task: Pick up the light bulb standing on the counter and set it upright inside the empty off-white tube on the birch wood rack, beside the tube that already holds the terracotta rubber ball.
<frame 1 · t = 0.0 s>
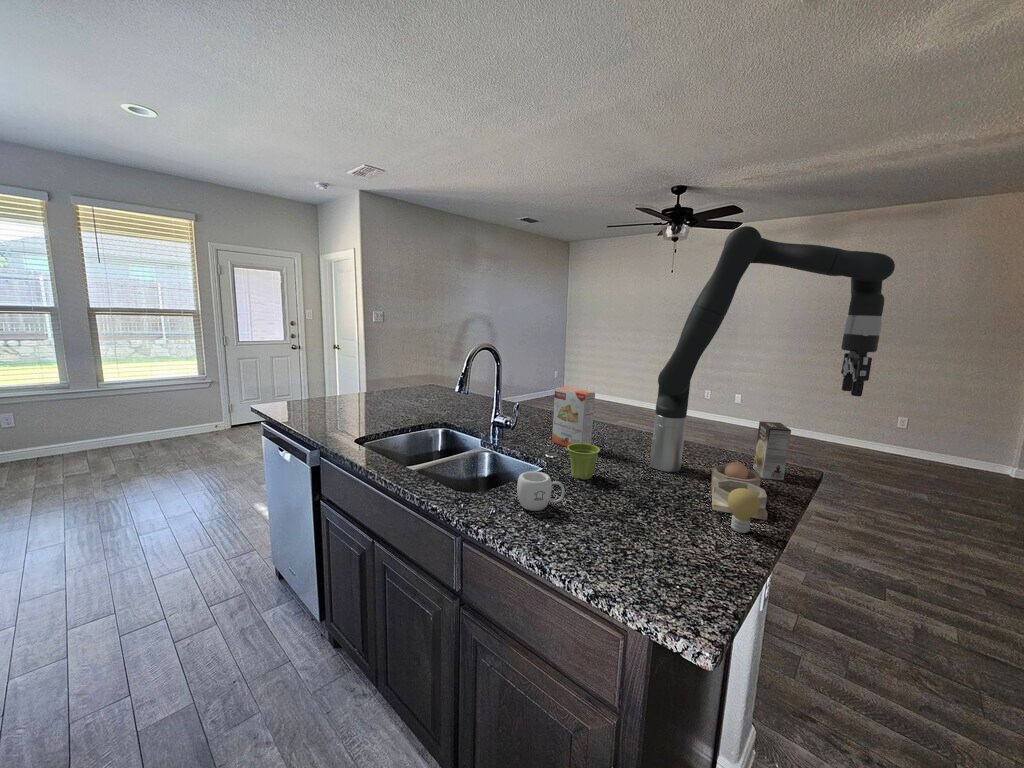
hand: (851, 393, 118), 29 cm above the worktop, tool pointing down, fingers open, 8 cm apart
terracotta ball: (736, 472, 125), point 4 cm above the worktop, touching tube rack
cracker box: (570, 446, 159), on the worktop
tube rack: (735, 495, 120), on the worktop
mug: (540, 506, 109), on the worktop
plant pot: (581, 476, 130), on the worktop
coffee box: (767, 475, 138), on the worktop
light bulb: (739, 531, 100), on the worktop
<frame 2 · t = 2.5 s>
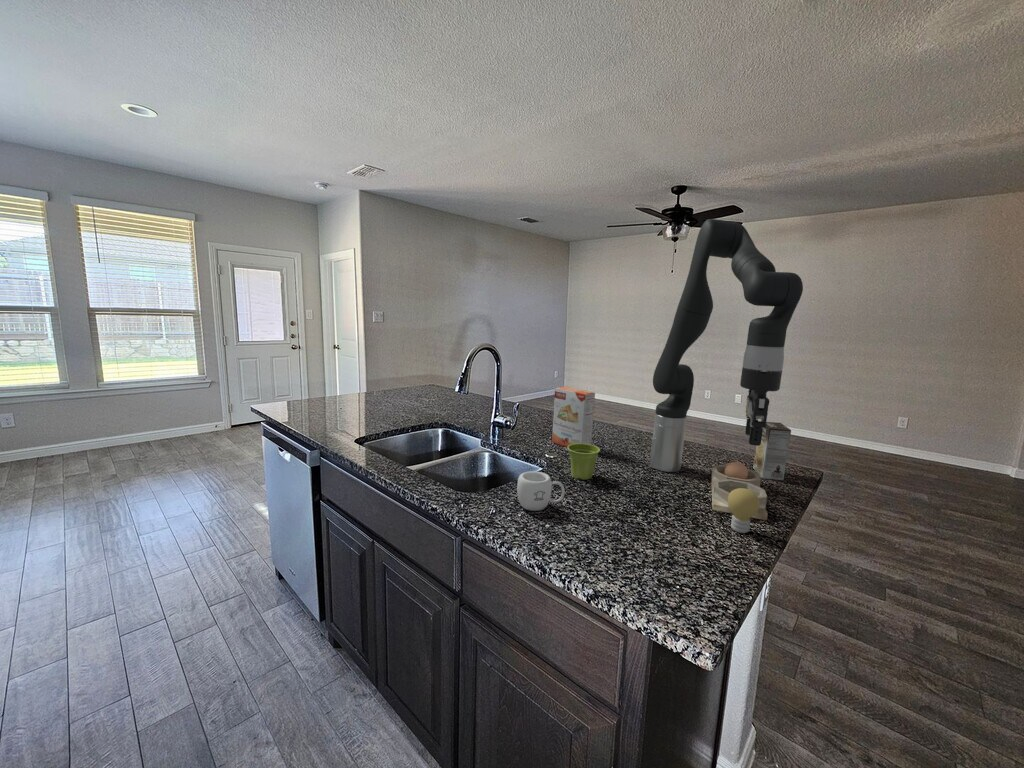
hand: (752, 439, 97), 22 cm above the worktop, tool pointing down, fingers open, 8 cm apart
nothing on the worktop moved.
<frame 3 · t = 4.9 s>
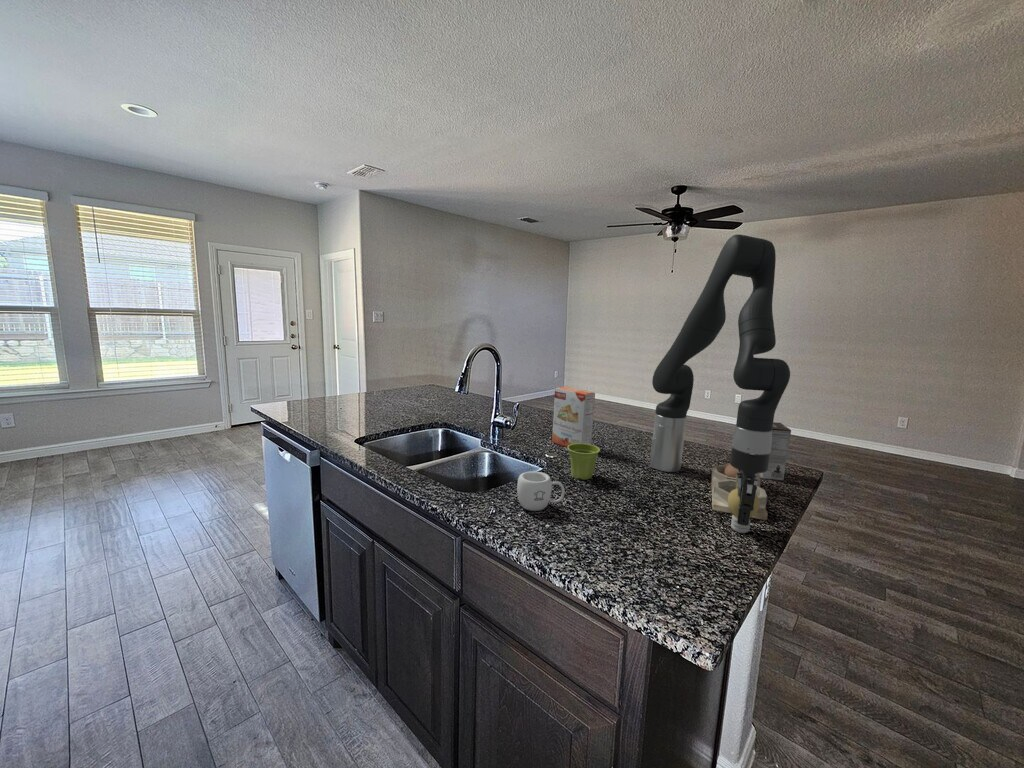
hand: (741, 517, 100), 3 cm above the worktop, tool pointing down, fingers closed on light bulb, 6 cm apart
light bulb: (739, 531, 100), on the worktop, touching gripper
everything else where it was.
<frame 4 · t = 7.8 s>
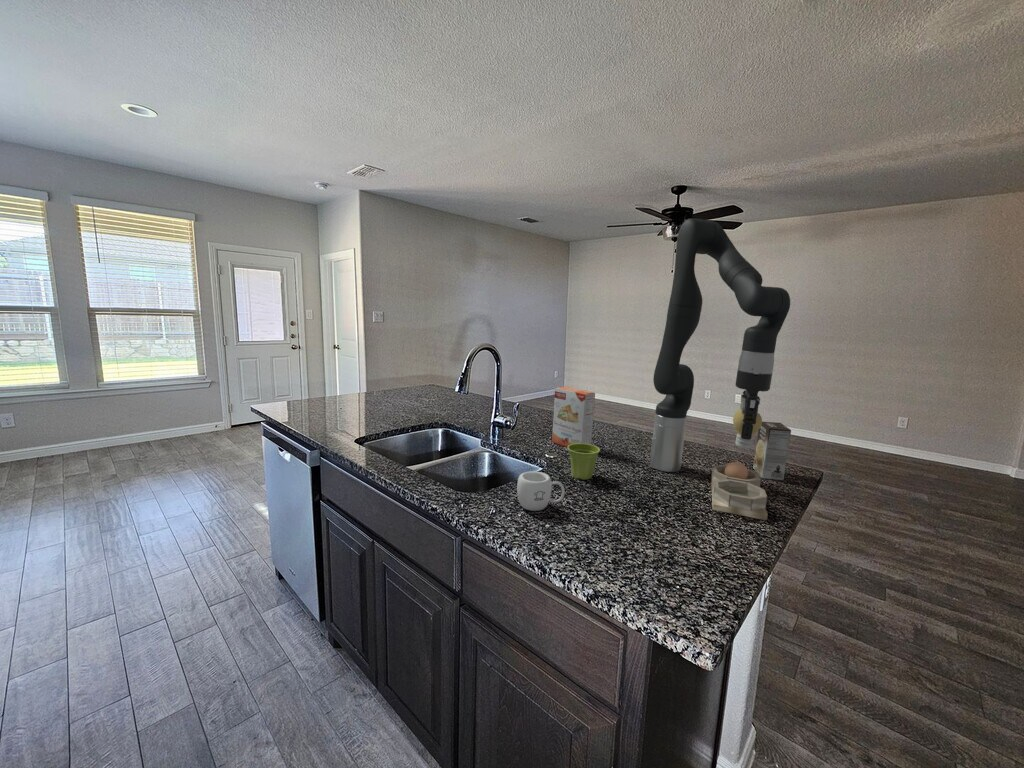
hand: (744, 435, 110), 19 cm above the worktop, tool pointing down, fingers closed on light bulb, 6 cm apart
light bulb: (743, 448, 111), point 16 cm above the worktop, touching gripper
everything else where it was.
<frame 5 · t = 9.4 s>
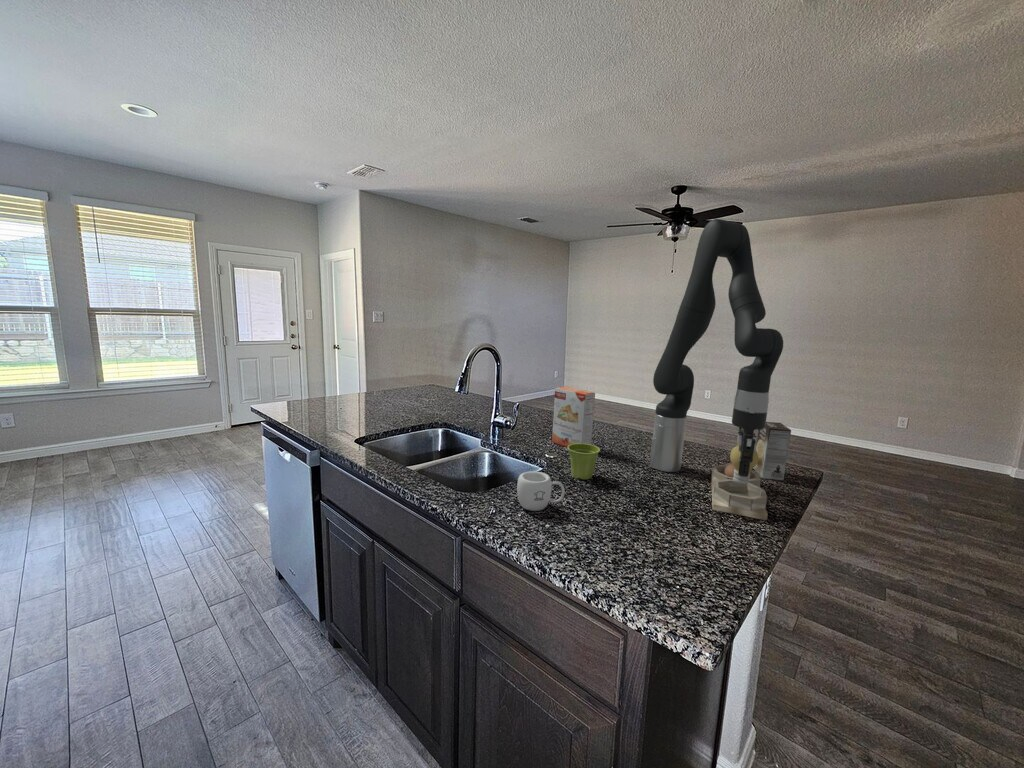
hand: (741, 471, 113), 9 cm above the worktop, tool pointing down, fingers closed on light bulb, 6 cm apart
light bulb: (740, 483, 113), point 6 cm above the worktop, touching gripper
everything else where it was.
when the fingers open (7 cm above the worktop, at t = 10.8 s): light bulb drops 2 cm, resting on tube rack.
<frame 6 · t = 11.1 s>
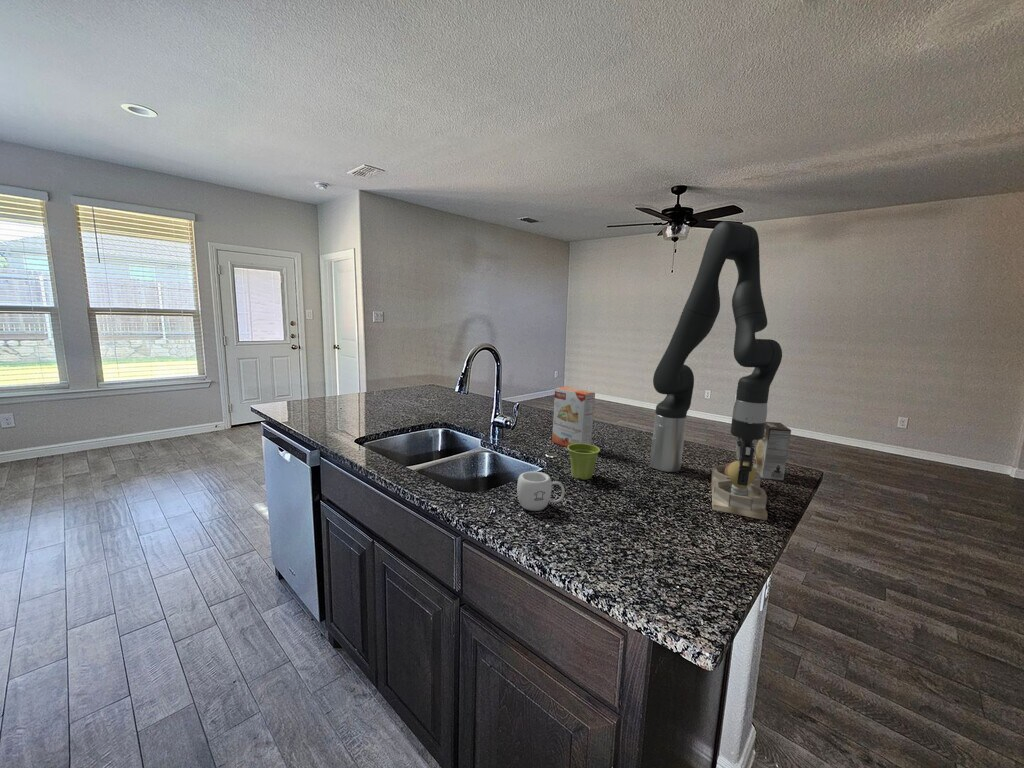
hand: (740, 479, 113), 7 cm above the worktop, tool pointing down, fingers open, 8 cm apart
light bulb: (738, 498, 114), point 2 cm above the worktop, touching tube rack
everything else where it was.
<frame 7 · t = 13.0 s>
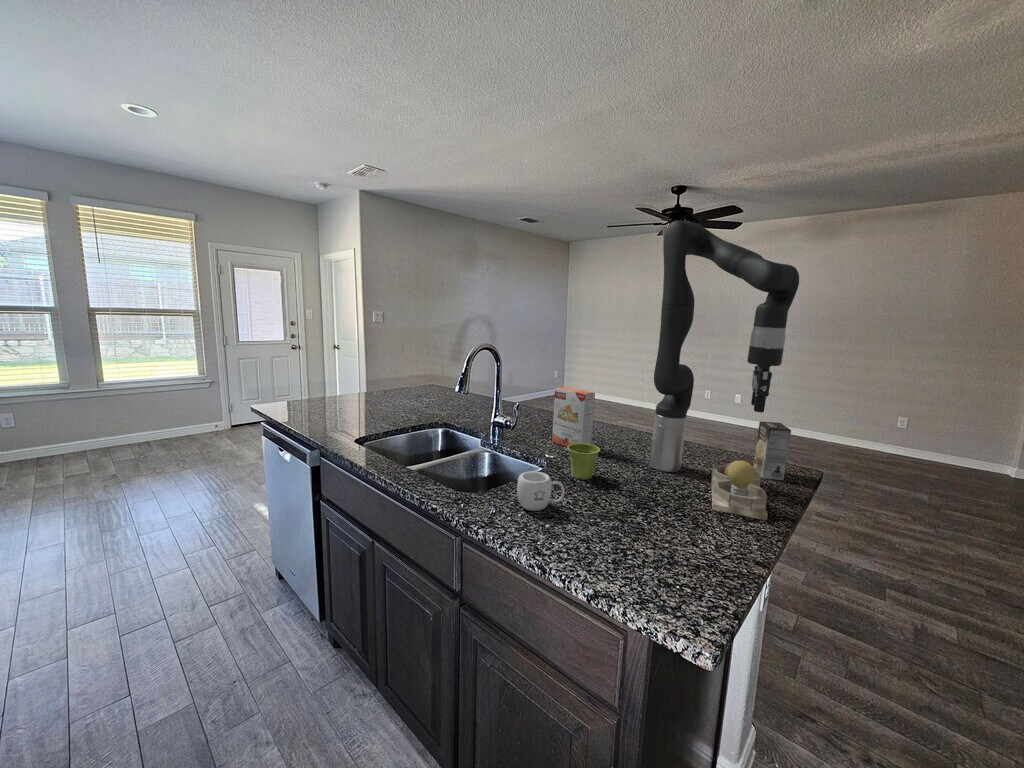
hand: (757, 408, 112), 25 cm above the worktop, tool pointing down, fingers open, 8 cm apart
nothing on the worktop moved.
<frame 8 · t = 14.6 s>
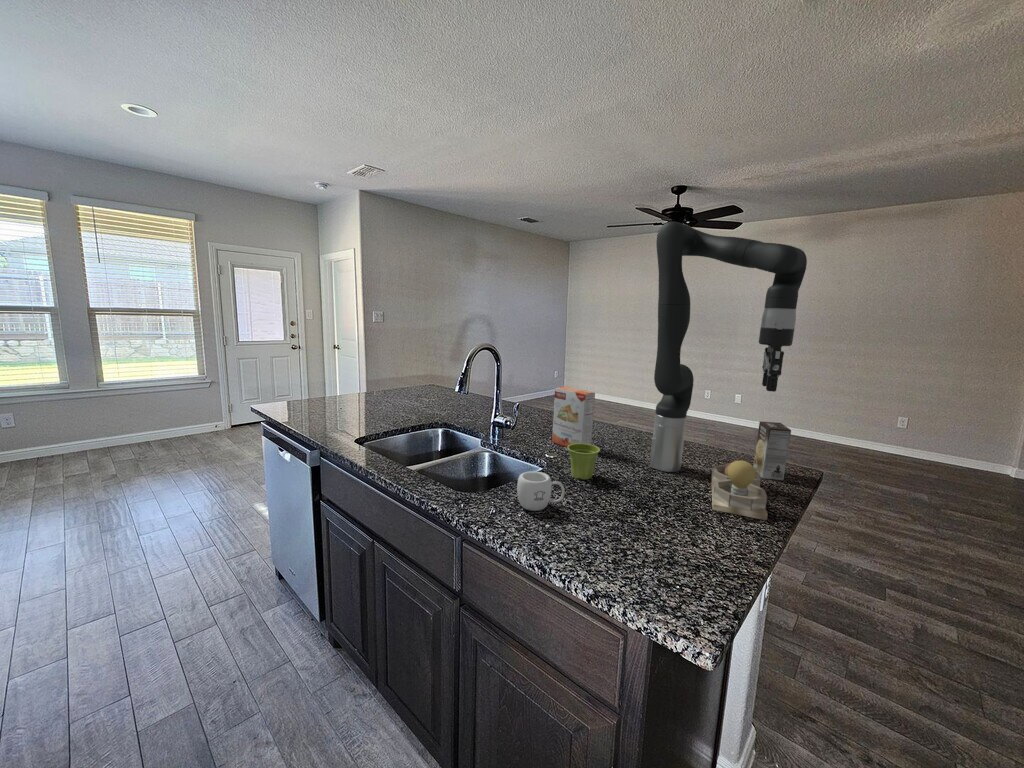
hand: (768, 388, 115), 30 cm above the worktop, tool pointing down, fingers open, 8 cm apart
nothing on the worktop moved.
at the end: light bulb 0.6 cm from the target spot on the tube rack, point 1.5 cm above the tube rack's base; light bulb tilted 0°; the gripper is holding nothing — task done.
